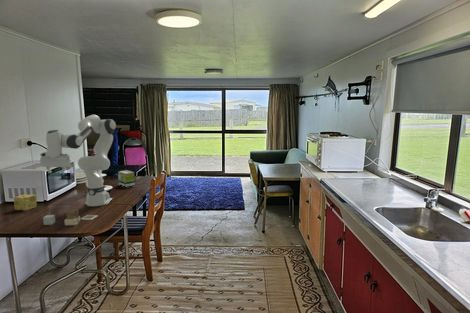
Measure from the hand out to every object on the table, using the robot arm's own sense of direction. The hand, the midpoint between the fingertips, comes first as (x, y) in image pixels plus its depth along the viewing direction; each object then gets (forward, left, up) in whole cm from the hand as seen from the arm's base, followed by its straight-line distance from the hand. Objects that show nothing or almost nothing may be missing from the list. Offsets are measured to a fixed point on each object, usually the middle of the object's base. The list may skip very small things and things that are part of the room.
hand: (56, 173), depth 205 cm
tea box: (-92, +6, -31) cm, 97 cm away
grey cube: (+14, +3, -31) cm, 34 cm away
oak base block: (+12, +18, -31) cm, 38 cm away
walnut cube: (+12, +18, -27) cm, 35 cm away
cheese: (-13, -37, -31) cm, 50 cm away
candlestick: (-68, -10, -31) cm, 76 cm away
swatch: (+1, +23, -31) cm, 39 cm away
